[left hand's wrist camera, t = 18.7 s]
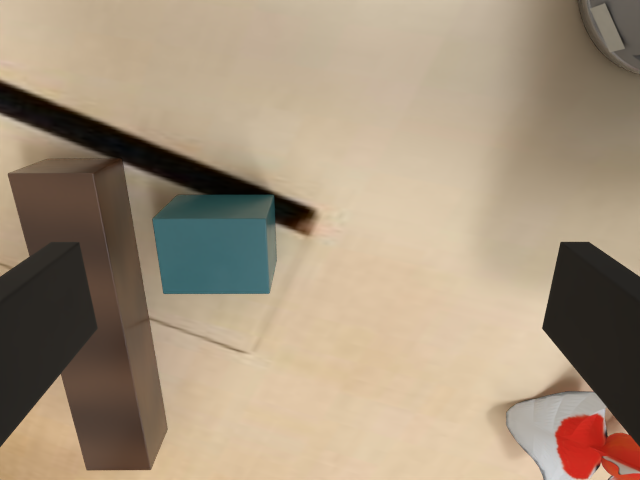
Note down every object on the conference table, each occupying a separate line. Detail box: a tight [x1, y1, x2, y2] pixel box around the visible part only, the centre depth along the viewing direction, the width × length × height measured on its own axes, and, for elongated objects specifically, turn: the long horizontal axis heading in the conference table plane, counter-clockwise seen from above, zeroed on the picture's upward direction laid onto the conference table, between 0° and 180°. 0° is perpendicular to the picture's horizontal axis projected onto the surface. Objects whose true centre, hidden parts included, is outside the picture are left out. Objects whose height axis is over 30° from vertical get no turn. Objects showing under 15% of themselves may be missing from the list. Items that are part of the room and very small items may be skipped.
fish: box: [506, 391, 640, 480], centre depth 42 cm, size 11×16×10 cm
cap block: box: [152, 195, 277, 294], centre depth 36 cm, size 6×8×6 cm
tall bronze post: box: [8, 158, 167, 470], centre depth 39 cm, size 28×6×5 cm, turn 0°
